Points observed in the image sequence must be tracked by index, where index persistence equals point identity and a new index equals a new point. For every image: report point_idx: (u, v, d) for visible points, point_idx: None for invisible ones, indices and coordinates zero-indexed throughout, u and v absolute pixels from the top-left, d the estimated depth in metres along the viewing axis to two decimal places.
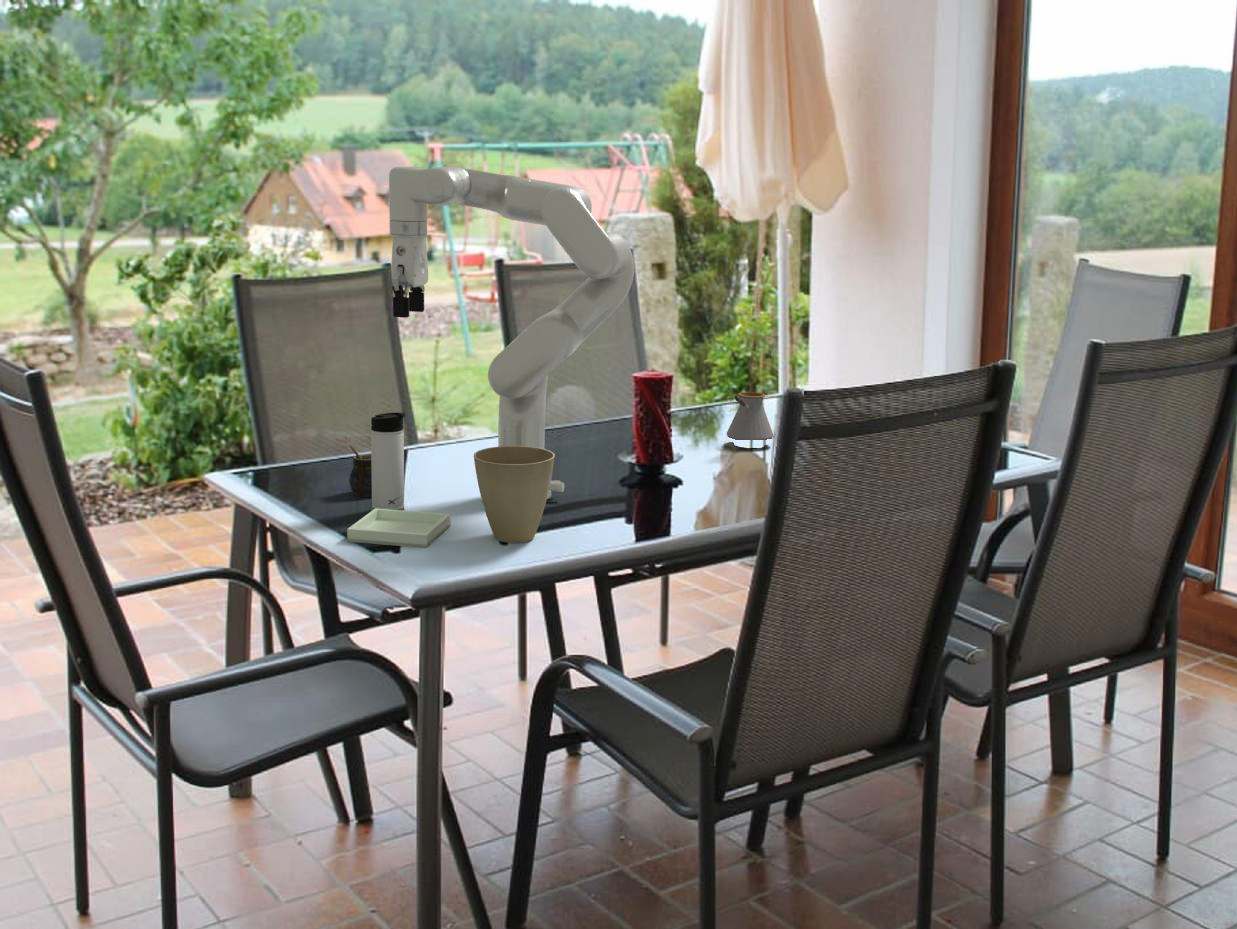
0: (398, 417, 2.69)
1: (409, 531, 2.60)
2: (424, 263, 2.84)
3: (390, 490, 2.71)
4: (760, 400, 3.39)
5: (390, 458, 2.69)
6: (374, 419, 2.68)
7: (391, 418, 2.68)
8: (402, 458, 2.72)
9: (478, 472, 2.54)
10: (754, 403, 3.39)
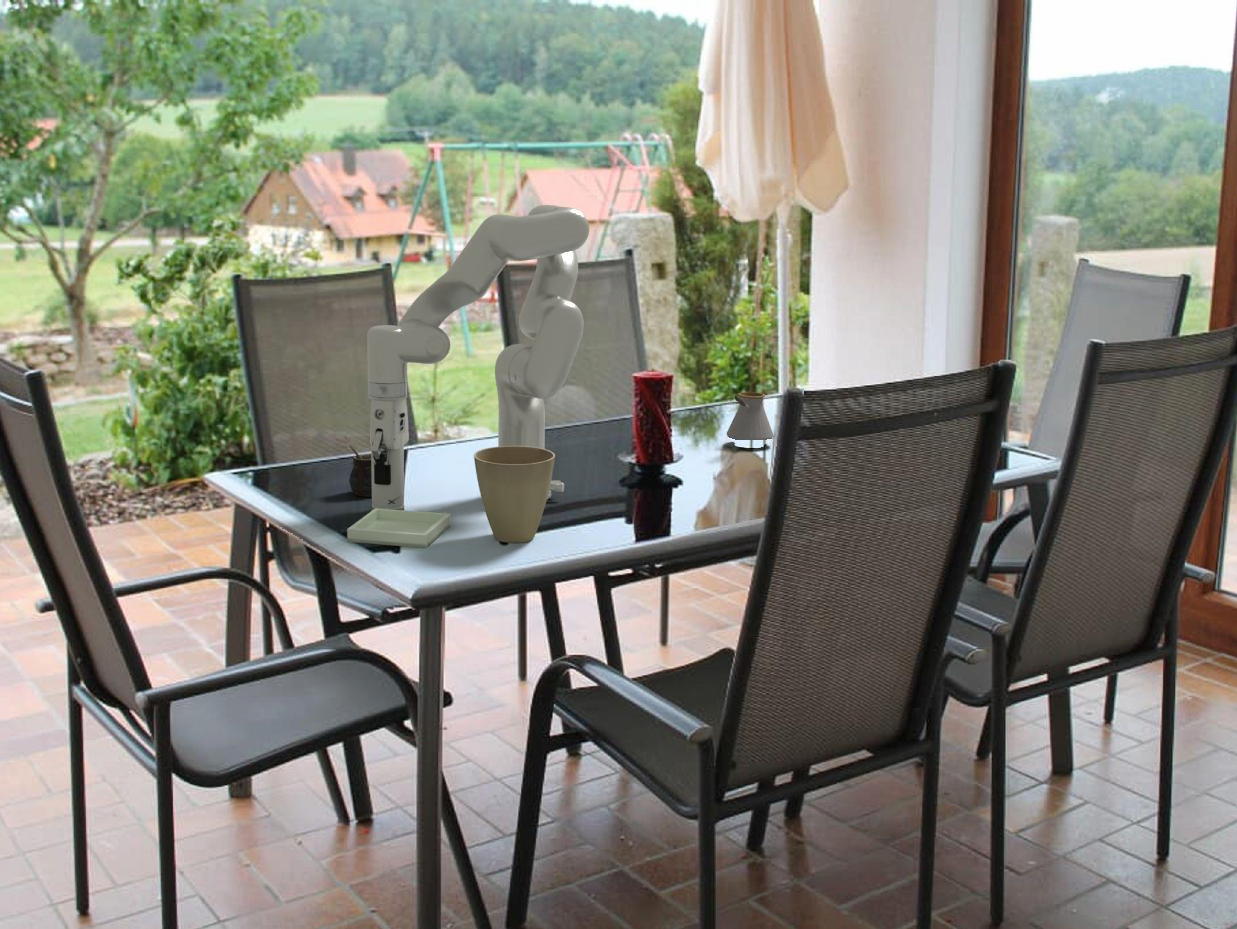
0: None
1: (409, 531, 2.60)
2: (404, 423, 2.72)
3: (389, 490, 2.71)
4: (760, 400, 3.39)
5: (390, 458, 2.69)
6: None
7: None
8: (402, 458, 2.72)
9: (478, 472, 2.54)
10: (754, 403, 3.39)
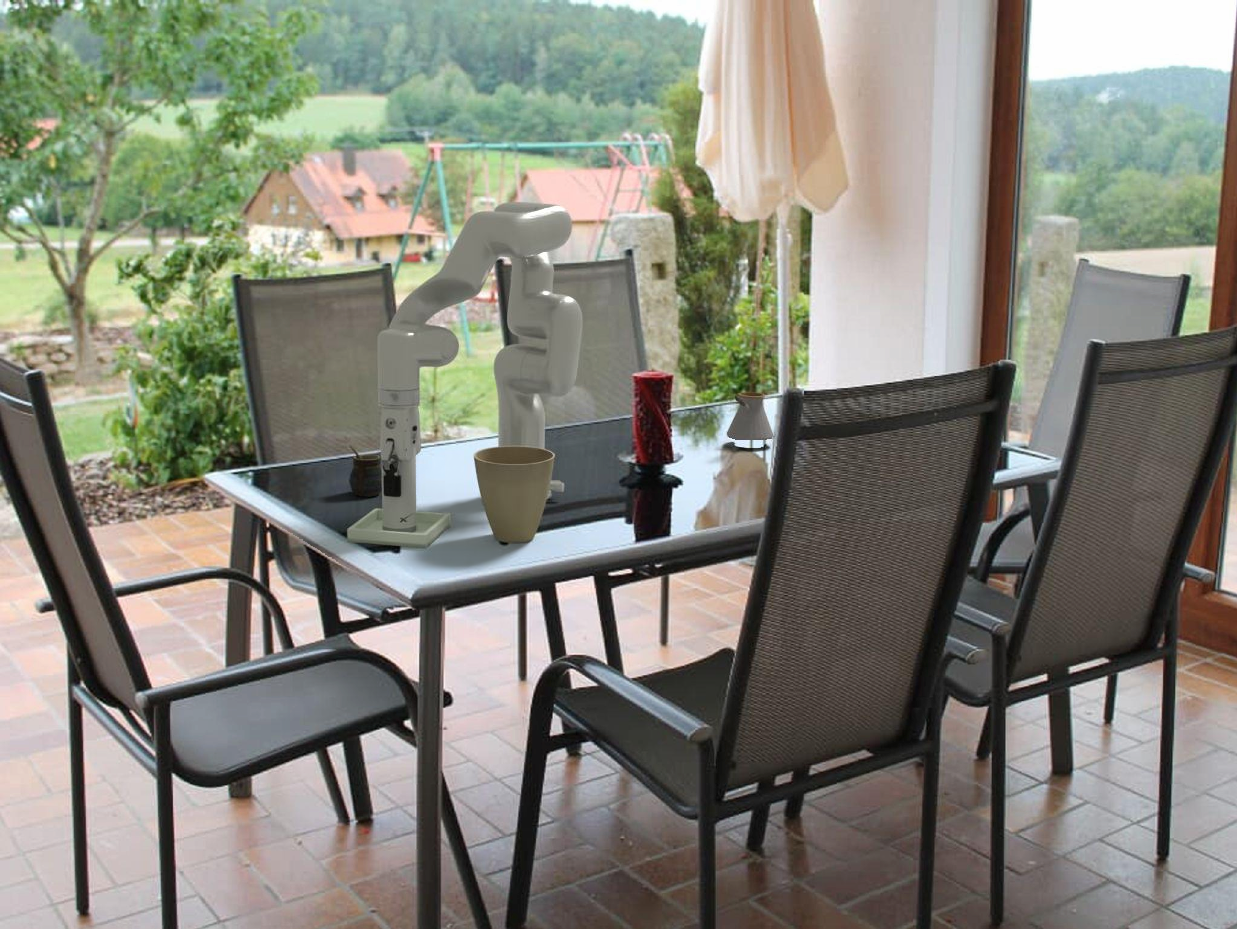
0: None
1: None
2: (416, 433, 2.57)
3: (401, 507, 2.56)
4: (760, 400, 3.39)
5: (402, 473, 2.55)
6: None
7: None
8: (414, 473, 2.57)
9: (478, 472, 2.54)
10: (754, 403, 3.39)
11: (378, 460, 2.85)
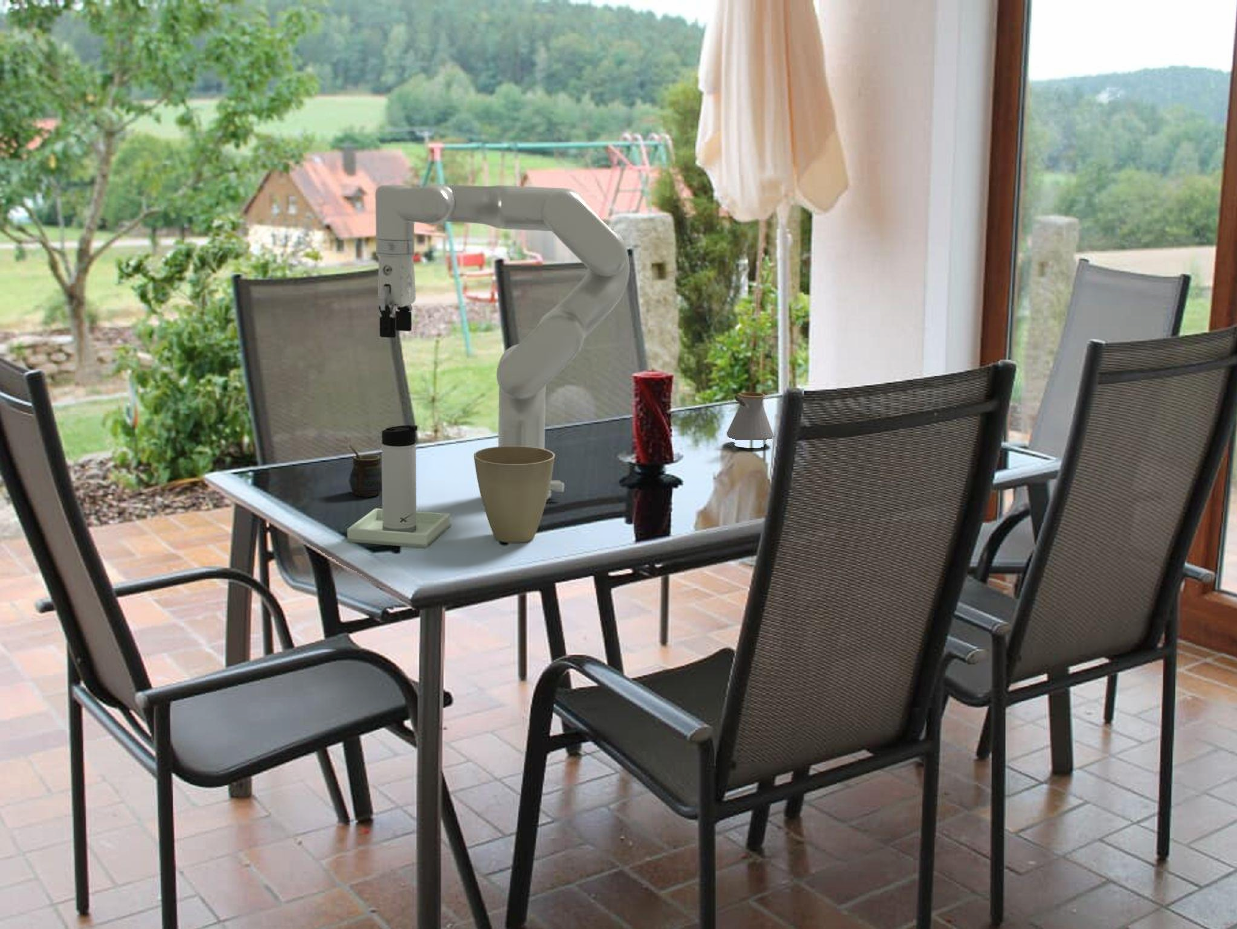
0: (410, 430, 2.54)
1: None
2: (411, 282, 2.80)
3: (401, 507, 2.56)
4: (760, 400, 3.39)
5: (402, 473, 2.55)
6: (385, 432, 2.54)
7: (403, 431, 2.53)
8: (414, 473, 2.57)
9: (478, 472, 2.54)
10: (754, 403, 3.39)
11: (378, 460, 2.85)
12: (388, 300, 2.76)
